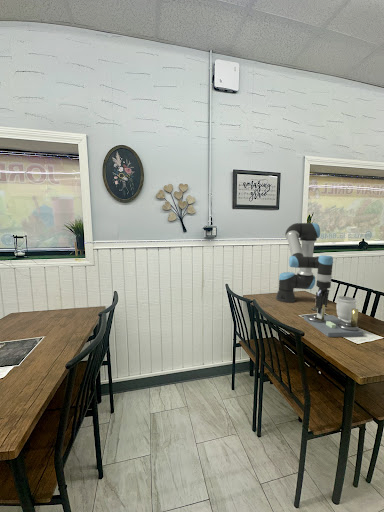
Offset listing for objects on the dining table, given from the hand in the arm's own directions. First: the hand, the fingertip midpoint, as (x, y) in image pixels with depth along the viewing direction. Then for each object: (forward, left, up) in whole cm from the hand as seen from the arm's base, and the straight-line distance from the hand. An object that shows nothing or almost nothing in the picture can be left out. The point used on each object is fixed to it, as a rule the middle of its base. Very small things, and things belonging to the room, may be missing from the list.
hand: (320, 317), depth 135 cm
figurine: (-25, +14, -5) cm, 29 cm away
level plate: (+3, +5, -5) cm, 8 cm away
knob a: (-3, -1, -2) cm, 4 cm away
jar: (-6, +21, -5) cm, 22 cm away
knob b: (+9, +11, -2) cm, 14 cm away
